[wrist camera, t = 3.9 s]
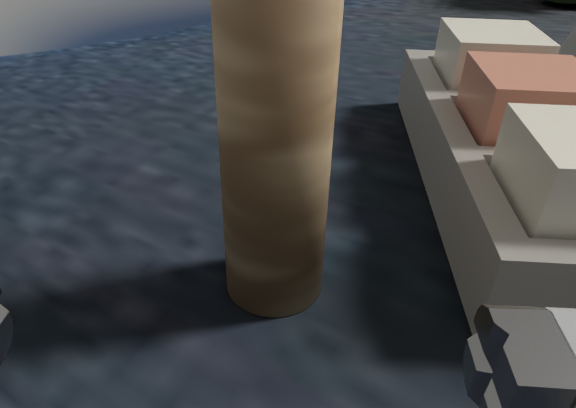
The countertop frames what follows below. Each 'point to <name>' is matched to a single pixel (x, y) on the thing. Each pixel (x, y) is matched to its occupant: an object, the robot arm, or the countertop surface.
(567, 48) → the flask
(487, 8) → the countertop surface
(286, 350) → the countertop surface
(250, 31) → the tan wooden cylinder
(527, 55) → the terracotta key
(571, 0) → the character mug
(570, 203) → the ivory key
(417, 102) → the keypad bezel
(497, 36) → the ivory key
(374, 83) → the countertop surface
